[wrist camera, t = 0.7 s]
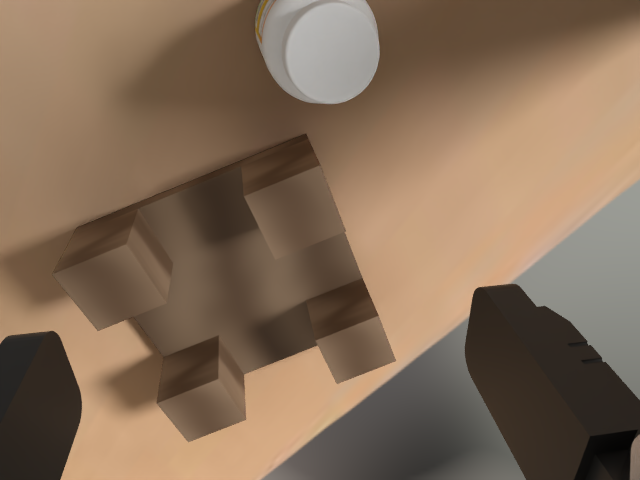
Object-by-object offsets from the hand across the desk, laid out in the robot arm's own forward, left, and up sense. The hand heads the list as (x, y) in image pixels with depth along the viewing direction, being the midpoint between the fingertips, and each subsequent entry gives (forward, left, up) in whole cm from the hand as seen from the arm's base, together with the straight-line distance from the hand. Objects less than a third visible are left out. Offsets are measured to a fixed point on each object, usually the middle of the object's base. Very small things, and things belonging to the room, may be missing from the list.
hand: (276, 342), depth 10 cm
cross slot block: (+5, +12, -23) cm, 27 cm away
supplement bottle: (-5, -2, -23) cm, 24 cm away
